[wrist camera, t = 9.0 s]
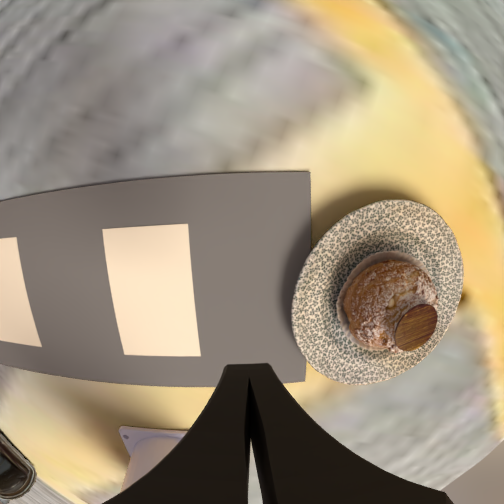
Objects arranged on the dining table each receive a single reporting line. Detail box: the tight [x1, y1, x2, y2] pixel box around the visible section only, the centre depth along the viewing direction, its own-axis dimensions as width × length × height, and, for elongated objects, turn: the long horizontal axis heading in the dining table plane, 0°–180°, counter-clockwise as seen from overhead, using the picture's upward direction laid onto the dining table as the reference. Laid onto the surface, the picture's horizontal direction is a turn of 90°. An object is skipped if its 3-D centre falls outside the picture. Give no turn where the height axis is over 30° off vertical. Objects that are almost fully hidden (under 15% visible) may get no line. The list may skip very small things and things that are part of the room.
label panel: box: [0, 172, 311, 387], centre depth 17 cm, size 13×26×1 cm, turn 92°
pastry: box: [291, 199, 464, 385], centre depth 15 cm, size 12×12×5 cm
